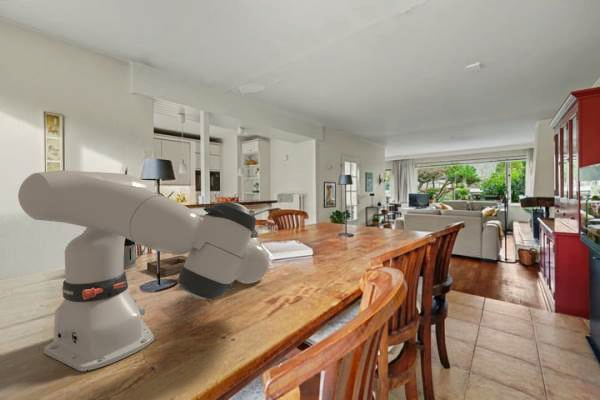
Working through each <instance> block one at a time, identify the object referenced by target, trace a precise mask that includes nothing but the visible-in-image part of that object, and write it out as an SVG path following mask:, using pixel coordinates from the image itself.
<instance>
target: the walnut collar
mask: <svg viewBox="0 0 600 400" xmlns="http://www.w3.org/2000/svg"><path fill="white" fill-rule="evenodd" d="M187 257H188V256H185V255H183V254H181V255H176V256H173V257H167V258H162V259H159V260H160V274H159V275H161V276H164V277H171V276H174V275H179V274H180V271H181V268H182V266H184V265H185V262H186V259H187ZM146 269H147V271H150V272H153V273H156V274H158V273H157V260H153V261H150V262H147V263H146Z"/></svg>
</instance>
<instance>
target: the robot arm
mask: <svg viewBox="0 0 600 400" xmlns="http://www.w3.org/2000/svg"><path fill="white" fill-rule="evenodd" d="M17 195H18V196H17V198H18V203H19V206H20V208H21V209H22V210H23V211H24V213H25V214H26V215H27V216H29V217H30V218H31V219H33V220H36V221H45V222H57V223H65V224H71V225H74V226H80V227H84V228H85V230H84V231H83V232H82V233H81V234H79V235H77V236H76V237H74V238H73V239H72V240H70V241H69V242H68V244H66V247H65V249H64V270H65V271H64V274H65V278H64V280H63V282H62V286H61V287H62V288H61V289H62V290H61V291H62V297H63V298H64V299H63V300H62V303H61V304H60V305H59V306H58V307H57V308H56V309H55V311H54V320H53V323H54V324H53V325H54V326H53V341H52V342H50V343H49V344H47V345H46V346H45V347H44V349H43V353H44V354H45V355H46V356H49V357H51V358H53V359H55V360H57V361H59V362H60V363H63V364H65V365H67V366H69V367H71V368H73V369H75V370H77V371H79V372H87V370H88V371H92V370H95V369H99V368H102V367H105V366H108V365H111V364H113V363H115V362H118V361H120V360H122V359H125V358H126V357H129V356H131V355H133V354H135V353H137V352H139V351H141V350H143V349H144V348H146V347H148V345H150V344H151V343H152V342H154V340H155V336H154V334H153V332H152V331H151V329H150V328H149V327H148V325H147V324H146V323H145V321H144V320H143V319H142V316H144V315H145V312H146V311H145V306H144V305H139V306H138V305H137V304H136V303H137V297H135V296H134V297H133V295H132V293H131V292H130V290H129V285H128V284H129V283H128V277H127V274H126V273H127V272H126V271H125V269H124V243H125V238H127V239H129V240H131V241H134V242H135V243H138V245H140V246H143V247H146V248H147V249H150V250H153V251H156V252H160V253H164V254H169V255H176V256H181V255H184V254H187V256H186V257H187V259H186V262H185V265H184V266H182V268H181V271H180V273H179V274H178V280H177V281H178V284H179V286H180V288H181V289H183V290H184V292H186V293H187V294H188V295H190V296H191V297H193V298H195V299H199V300H214V299H217V298H219V297H221V296H223V295H224V294H225V293H226V292H227V291H228V290H234V288H235V286H233V284H234V283H235V281H237V282H239V283H242V284H254V283H256V282H259V281H260V280H261V279H262V278H264V276H266V274H267V272H268V270H269V267H270V254H269V252H268V251H267V250H266V249H265V247H263V245H261V242H260V240H259V237H258V232H257V230H256V224H257V219H256V216H255V215H254V213H253V212H251V211H250V209H249V208H247V207H246V206H245V205H242V204H240V203H237V202H230V201H222V202H217V203H214V204H213V205H212V206H205V207H204V208H203V211H204V212H205V214H203V215H202V214H200V213H198V212H196V211H194V210H192V209H191V208H189V207H188V206H186V205H184V204H182V203H180V202H178V201H176V200H174V199H173V198H169V197H167V196H165V195H163V194H159V193H157V192H154V191H151V190H149V188H148V186H147V184H146V182H145V181H144V180H143V179H141V178H139V177H137V176H133V175H129V174H125V173H118V172H116V173H115V172H101V171H84V170H83V171H80V170H64V169H63V170H60V169H59V170H50V171H43V172H41V171H40V172H34V173H32V174H30V175H29V176H27V177H26V178H25V179H24V180H23V181H22V183H21V185H20V187H19V189H18V194H17Z"/></svg>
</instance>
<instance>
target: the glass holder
mask: <svg viewBox="0 0 600 400" xmlns="http://www.w3.org/2000/svg"><path fill="white" fill-rule="evenodd" d="M138 245H139V244H138V243H136V242H134V241H131V240H129V239H127V238H125V243H124V270H128V269H133V268H136V267H137V266H138V263H137V259H139V258H140V257H141V256H142V255H143V254H144V253H145V251H146V248H147V247H145V246H143V247H144V248H143V250H142V252H141V253H140V254H139V255H138V256H137V246H138Z"/></svg>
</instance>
